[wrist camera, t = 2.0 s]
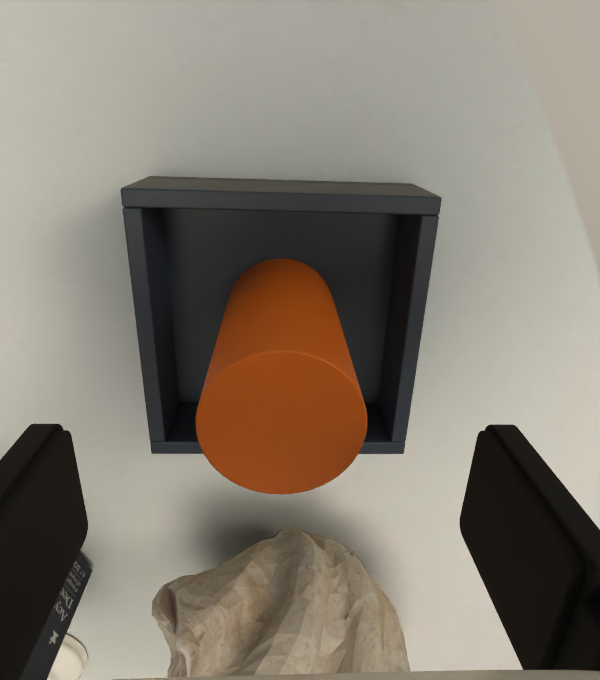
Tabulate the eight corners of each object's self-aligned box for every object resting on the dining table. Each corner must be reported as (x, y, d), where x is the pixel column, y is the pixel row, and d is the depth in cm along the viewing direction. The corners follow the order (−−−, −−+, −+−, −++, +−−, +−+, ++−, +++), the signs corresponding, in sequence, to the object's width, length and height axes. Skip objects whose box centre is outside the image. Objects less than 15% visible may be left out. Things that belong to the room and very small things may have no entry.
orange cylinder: (226, 256, 19) (190, 349, 11) (336, 259, 19) (375, 351, 11) (229, 356, 21) (200, 495, 13) (330, 357, 21) (360, 494, 13)
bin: (148, 175, 18) (119, 187, 15) (414, 183, 19) (442, 196, 15) (169, 405, 22) (151, 454, 19) (386, 406, 23) (403, 454, 20)
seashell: (349, 444, 24) (392, 644, 15) (407, 631, 30) (464, 854, 21) (156, 496, 25) (84, 715, 16) (251, 667, 31) (240, 897, 22)
